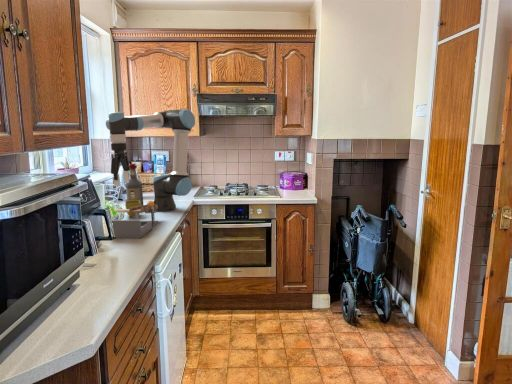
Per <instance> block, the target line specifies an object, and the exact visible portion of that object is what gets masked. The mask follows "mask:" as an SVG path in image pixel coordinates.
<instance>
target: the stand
mask: <svg viewBox="0 0 512 384" xmlns="http://www.w3.org/2000/svg"><path fill="white" fill-rule="evenodd" d="M150 215H151V217H150V218H151V220H140V213H135V220H140V221H141V222H149V221H151V222H152V228H154V227H155V226H156V225H158V224H159V220H155V213H154V208H151V213H150Z"/></svg>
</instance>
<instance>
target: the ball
mask: <svg viewBox="0 0 512 384" xmlns="http://www.w3.org/2000/svg"><path fill="white" fill-rule="evenodd" d="M146 205H147V206H153V205H154V200H148V201H147V203H146Z"/></svg>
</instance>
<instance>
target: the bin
mask: <svg viewBox="0 0 512 384" xmlns="http://www.w3.org/2000/svg"><path fill="white" fill-rule="evenodd" d="M111 220H112V223H113V228H114V232H115V236H116V238H115V239H143V237H145V236H146V235H147V234H149V233H150V232H151V231H152V230H153V227H152V222H151V221H152V220H148V221H149V222H141V221H142V220H141V219H139V220H136V219H111Z"/></svg>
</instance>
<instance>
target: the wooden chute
mask: <svg viewBox="0 0 512 384" xmlns="http://www.w3.org/2000/svg"><path fill="white" fill-rule="evenodd" d="M151 208H154V214H156V213H157V211H156V209H158V205H157V204H154V205H153V206H147V204H143V205H142V206H137V207H132V208H129V209H126V208H125V209H122V208H121V209H116V210H115V213H127V212H129V213H139V214H143V213H145V214H151Z"/></svg>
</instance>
